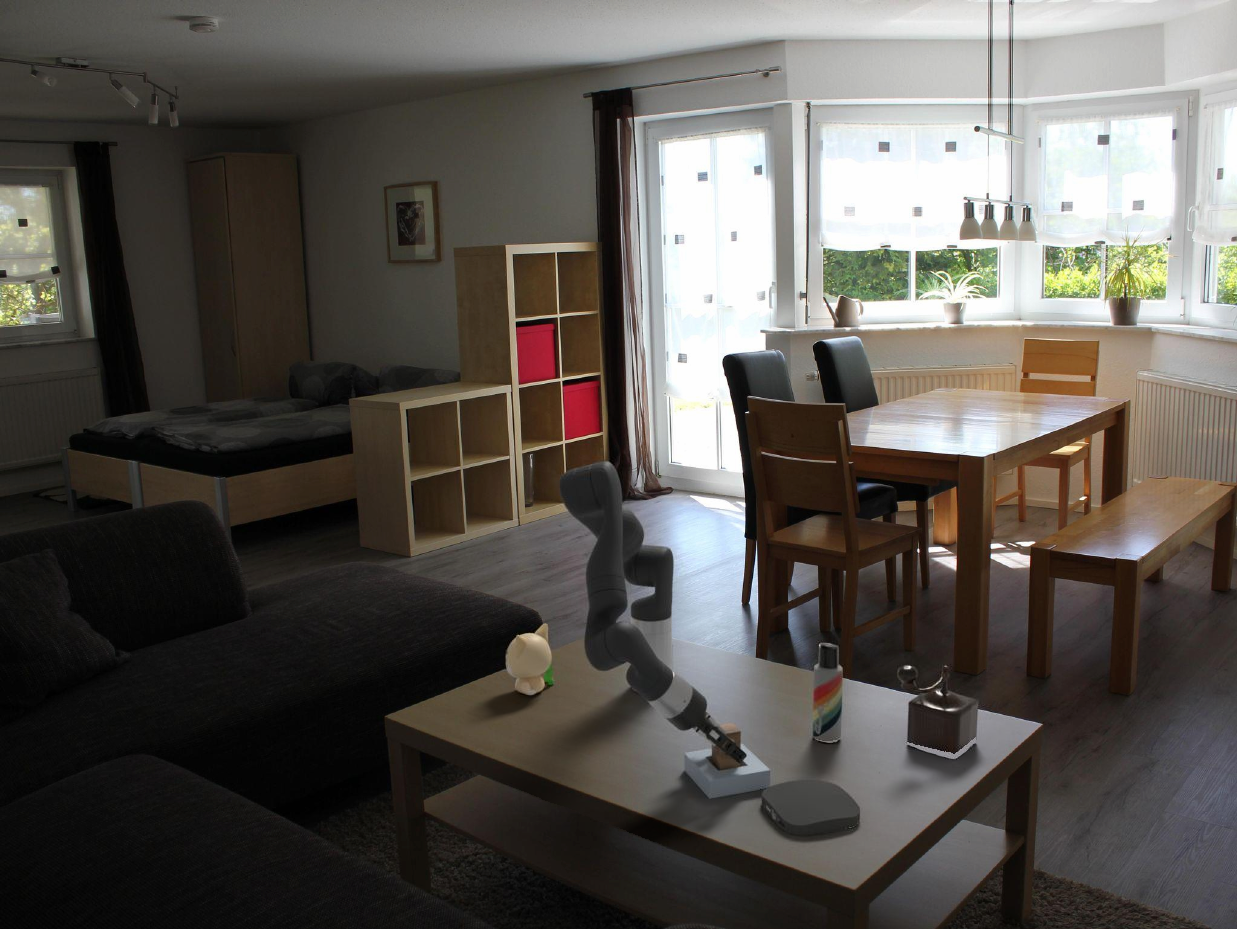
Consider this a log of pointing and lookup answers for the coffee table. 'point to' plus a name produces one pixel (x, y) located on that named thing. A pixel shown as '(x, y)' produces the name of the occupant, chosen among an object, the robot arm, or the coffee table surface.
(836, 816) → the media streaming box
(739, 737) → the peg
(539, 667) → the kitten
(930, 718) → the manual coffee grinder
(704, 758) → the socket
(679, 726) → the robot arm
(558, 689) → the coffee table surface
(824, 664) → the lotion bottle
